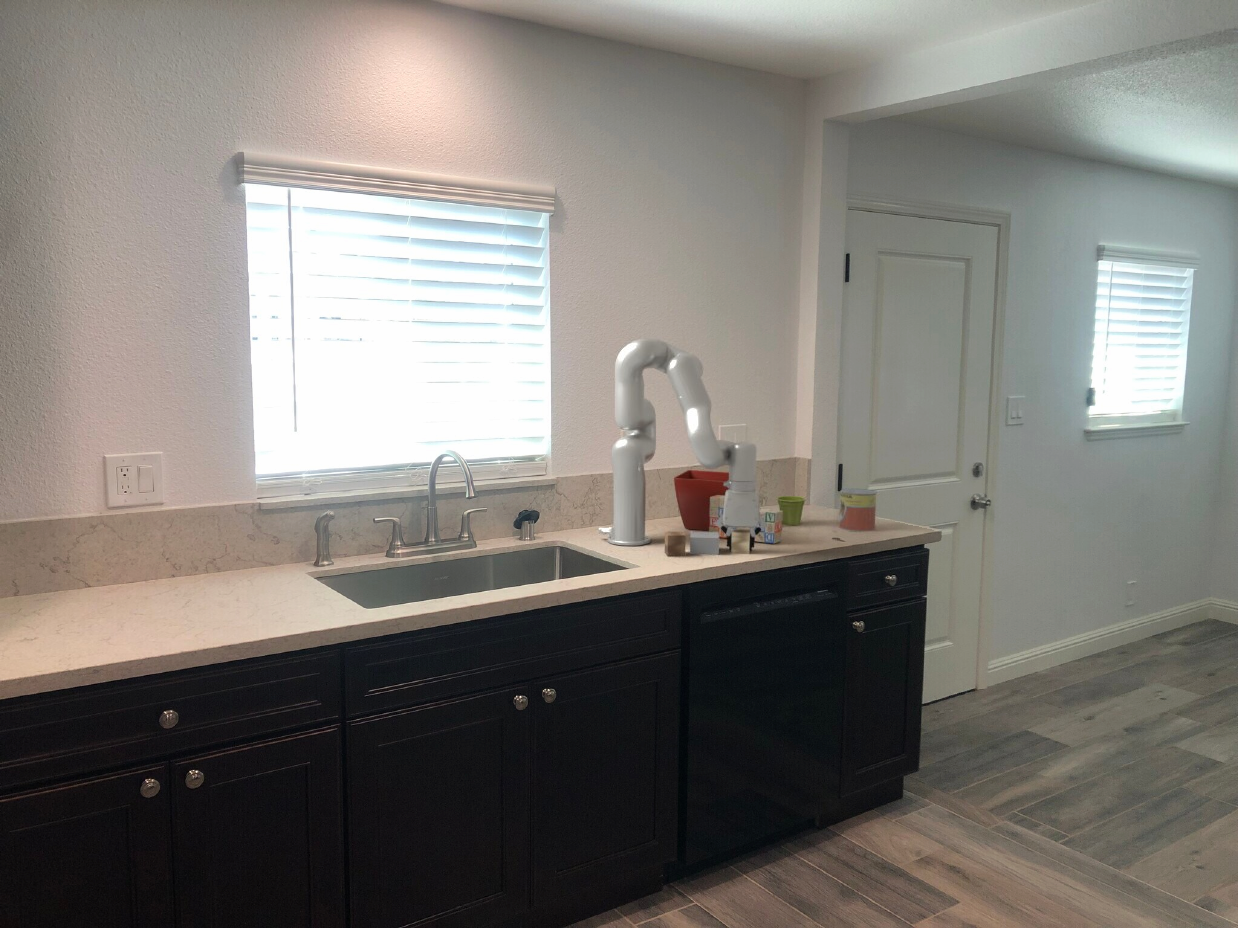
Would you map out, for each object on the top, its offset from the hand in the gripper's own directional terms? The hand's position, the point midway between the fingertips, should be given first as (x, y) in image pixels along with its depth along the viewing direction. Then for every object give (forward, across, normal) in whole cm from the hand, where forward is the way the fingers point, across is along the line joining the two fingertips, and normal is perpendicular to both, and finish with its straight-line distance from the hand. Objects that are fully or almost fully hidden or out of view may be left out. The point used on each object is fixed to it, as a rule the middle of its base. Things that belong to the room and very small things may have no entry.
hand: (740, 548), depth 266 cm
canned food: (+1, +36, +42) cm, 55 cm away
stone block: (+1, -10, -1) cm, 10 cm away
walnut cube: (+1, -18, -7) cm, 19 cm away
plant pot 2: (+1, +15, +44) cm, 46 cm away
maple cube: (+1, 0, 0) cm, 1 cm away
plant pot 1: (+1, -11, +34) cm, 36 cm away
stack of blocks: (+1, +1, +18) cm, 18 cm away
